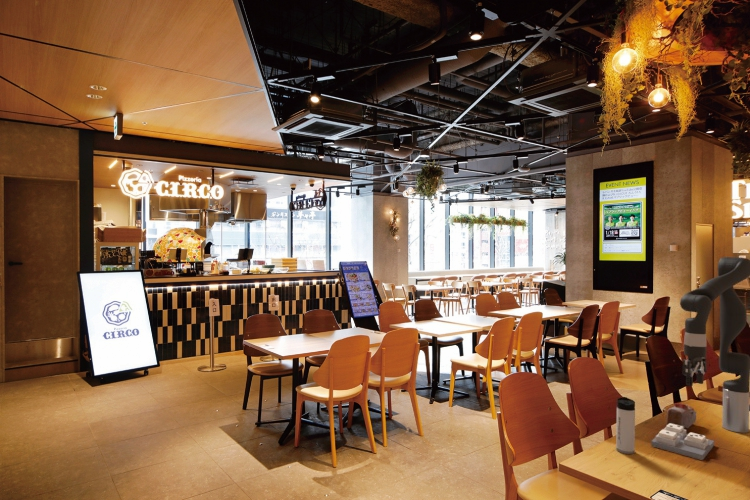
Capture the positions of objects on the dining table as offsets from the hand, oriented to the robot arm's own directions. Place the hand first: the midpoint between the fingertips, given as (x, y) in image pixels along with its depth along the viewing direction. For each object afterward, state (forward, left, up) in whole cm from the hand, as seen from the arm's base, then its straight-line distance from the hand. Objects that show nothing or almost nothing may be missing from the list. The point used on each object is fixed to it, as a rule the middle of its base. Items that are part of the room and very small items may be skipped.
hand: (694, 384), depth 188 cm
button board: (+6, -2, -24) cm, 25 cm away
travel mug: (+28, -16, -24) cm, 40 cm away
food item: (-19, -9, -24) cm, 32 cm away
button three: (+6, +2, -20) cm, 21 cm away
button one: (+11, -6, -20) cm, 24 cm away
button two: (+1, -6, -20) cm, 21 cm away
